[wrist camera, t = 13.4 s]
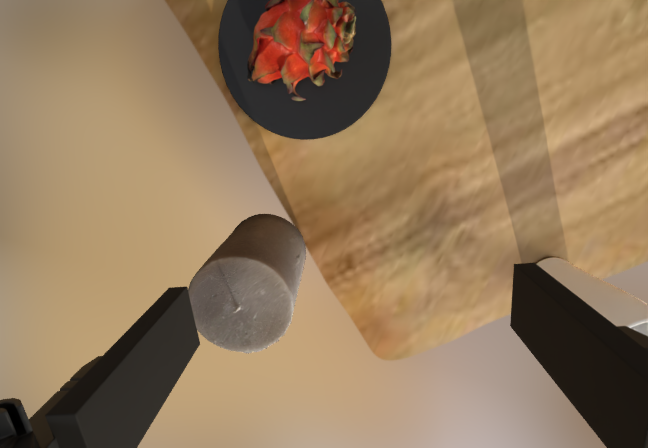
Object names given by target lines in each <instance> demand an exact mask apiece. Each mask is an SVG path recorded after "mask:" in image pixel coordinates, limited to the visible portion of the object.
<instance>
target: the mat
mask: <svg viewBox="0 0 648 448" xmlns="http://www.w3.org/2000/svg"><path fill="white" fill-rule="evenodd" d="M269 1H271V0H228V1H227V4H226V6H225V9H224V11H223V15H222V19H221V23H220V29H219V47H218V49H219V58H220V64H221V68H222V73H223V75H224V78H225V81H226V84H227V86H228V88H229V90H230V92H231V94H232V96H233V97H234V99H235V100H236V102H237V103H238V105H239V106H240V107H241V108H242V109H243V111H244V112H245V113H246V114H247V115H248V116H249V117H250V118H251V119H253V120H254V121H255V122H256V123H258V124H259V125H261V126H262V127H264V128H265V129H267V130H269V131H271V132H273V133H276V134H278V135H281V136H284V137H289V138H293V139H317V138H323V137H327V136H330V135H333V134H336V133H338V132H340V131H342V130H344V129H346V128H347V127H349V126H350V125H352V124H353V123H355V122H356V121H357V120H358V119H359V118H361V117H362V116H363V115H364V113H365V112H366V111H367V110H368V109H369V108H370V107H371V105H372V104H373V102H374V101H375V100H376V98H377V96H378V94H379V93H380V91H381V89H382V86H383V84H384V81H385V79H386V76H387V72H388V68H389V63H390V56H391V35H390V27H389V22H388V18H387V14H386V12H385V9H384V6H383V3H382V1H381V0H338V3H341V2H348V3H350V4H351V5H352V6H353V7H355V8H356V9H355V10H356V12H357V13H356V12H355V11H354V13H355V15H354V16H356V21H355V25H356V33H355V36H354V37H353V38H352V39H353V40H354V41H353V50H352V52H351V54H349V61H347V62H346V61H345V62H337V61H335V62H334V64H333V66H334V68H335V70H336V71H338V72H340V70H341V69H342V75H341V76H340V77H339V78H338V79H336V78H332V77H330V76H328V75H327V74H326V73H325V72H324V75H323V77H324V80H325V81H324V83H323V85H321V86H317V85H316V84H314V83H313V82H312V81H311V78H310V77H306V78H303V79H302V80H300V81H299V82H298V83H297V85H296V87H295V92H296V93H297V94H298V95H299V96H301V97H302V98H305V99H306V100H303V101H295V100H292V99H291V97H294V96H295V95H294V94H293V93H289V94H288V91H287V85H286V84H285V83H283V79H277V81H276V82H275V83H274V84H270V83H267V84H263V83H259V82H257V81H255V84H254V83H253V82H252V81H249V80H248V79H247V75H248V70H247V64H248V63H247V62H248V59H249V57H250V54H251V52H252V50H253V45H254V40H253V34H254V29H255V26H256V24H257V22H258V21H259V19H260V16H261V15H262V14H263V13H265V12H266V9H265V5H266V4H267V3H268V2H269ZM357 9H358V10H357ZM353 18H354V17H353ZM254 68H255V67H254ZM253 70H254V69H253ZM253 70H252V72H251V77H252V74H253ZM256 89H257V90H256Z"/></svg>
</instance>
